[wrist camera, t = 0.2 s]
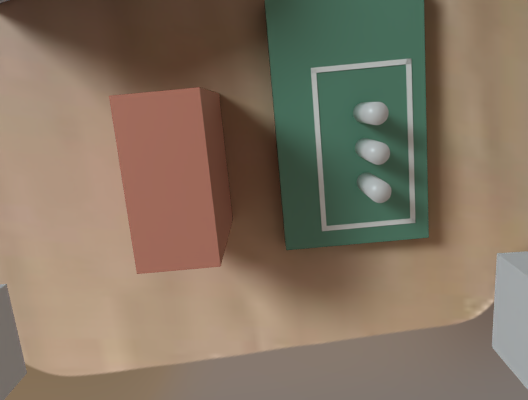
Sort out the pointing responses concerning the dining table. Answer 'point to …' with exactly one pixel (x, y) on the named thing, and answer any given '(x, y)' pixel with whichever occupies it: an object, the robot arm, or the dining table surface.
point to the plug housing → (174, 177)
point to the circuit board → (349, 119)
